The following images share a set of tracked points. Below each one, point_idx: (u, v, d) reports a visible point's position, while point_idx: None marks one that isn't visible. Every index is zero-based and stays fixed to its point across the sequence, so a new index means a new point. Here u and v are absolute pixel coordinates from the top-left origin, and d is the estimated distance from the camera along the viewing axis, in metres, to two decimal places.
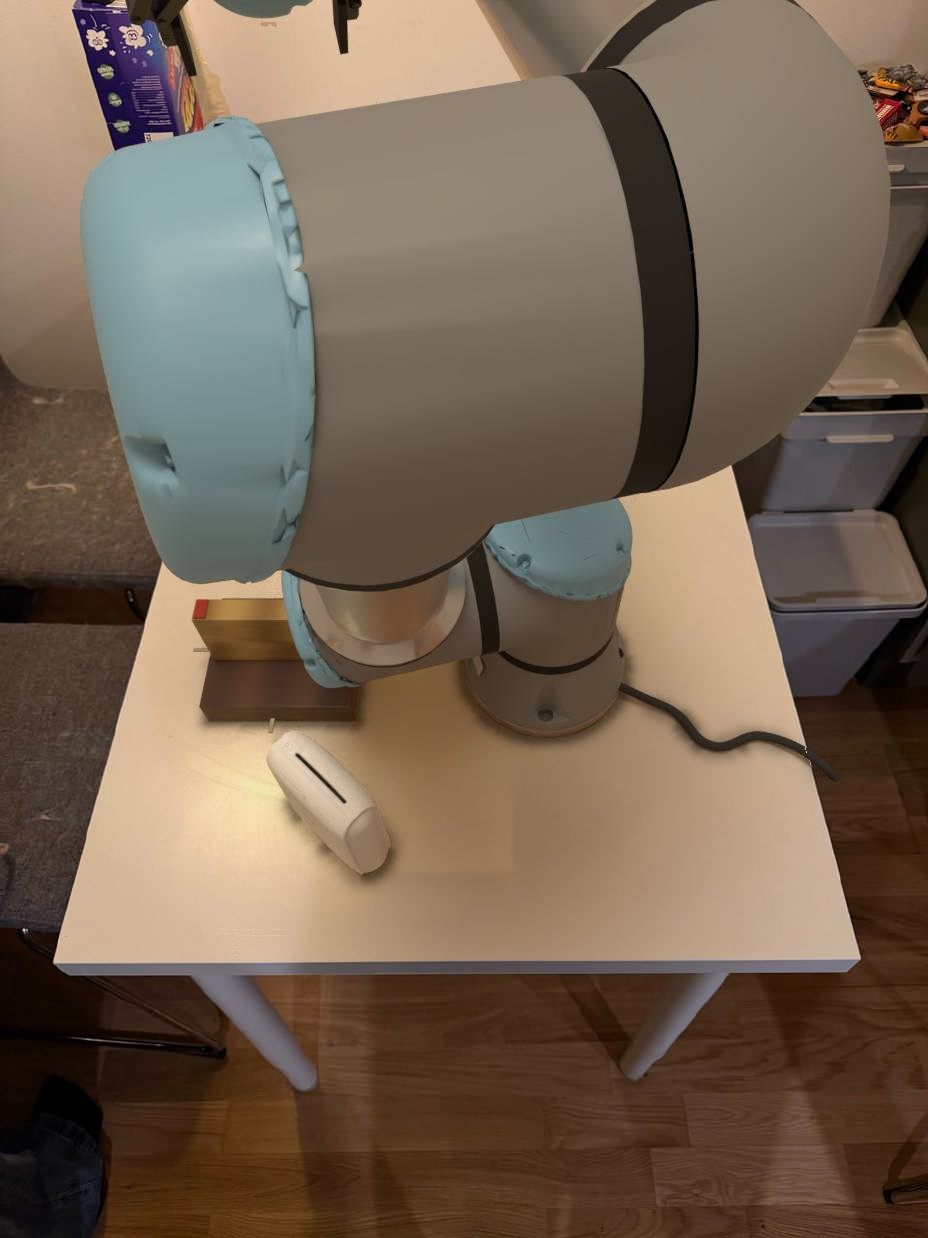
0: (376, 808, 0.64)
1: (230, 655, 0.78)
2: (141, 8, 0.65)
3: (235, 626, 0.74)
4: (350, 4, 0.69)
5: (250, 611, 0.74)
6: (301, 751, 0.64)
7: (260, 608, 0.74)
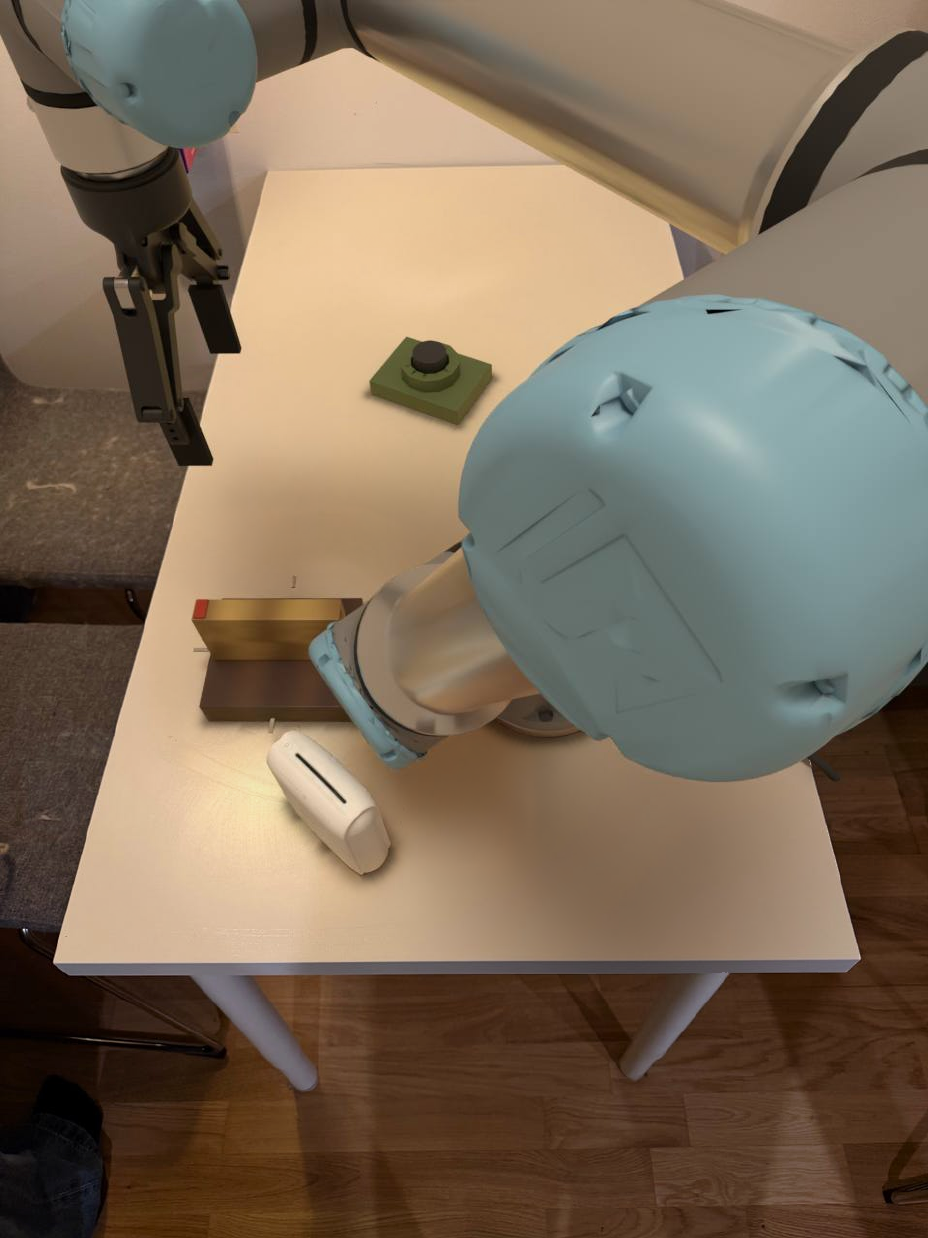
0: (376, 808, 0.64)
1: (230, 655, 0.78)
2: (168, 394, 0.59)
3: (235, 626, 0.74)
4: (225, 278, 0.69)
5: (250, 611, 0.74)
6: (301, 751, 0.64)
7: (260, 608, 0.74)
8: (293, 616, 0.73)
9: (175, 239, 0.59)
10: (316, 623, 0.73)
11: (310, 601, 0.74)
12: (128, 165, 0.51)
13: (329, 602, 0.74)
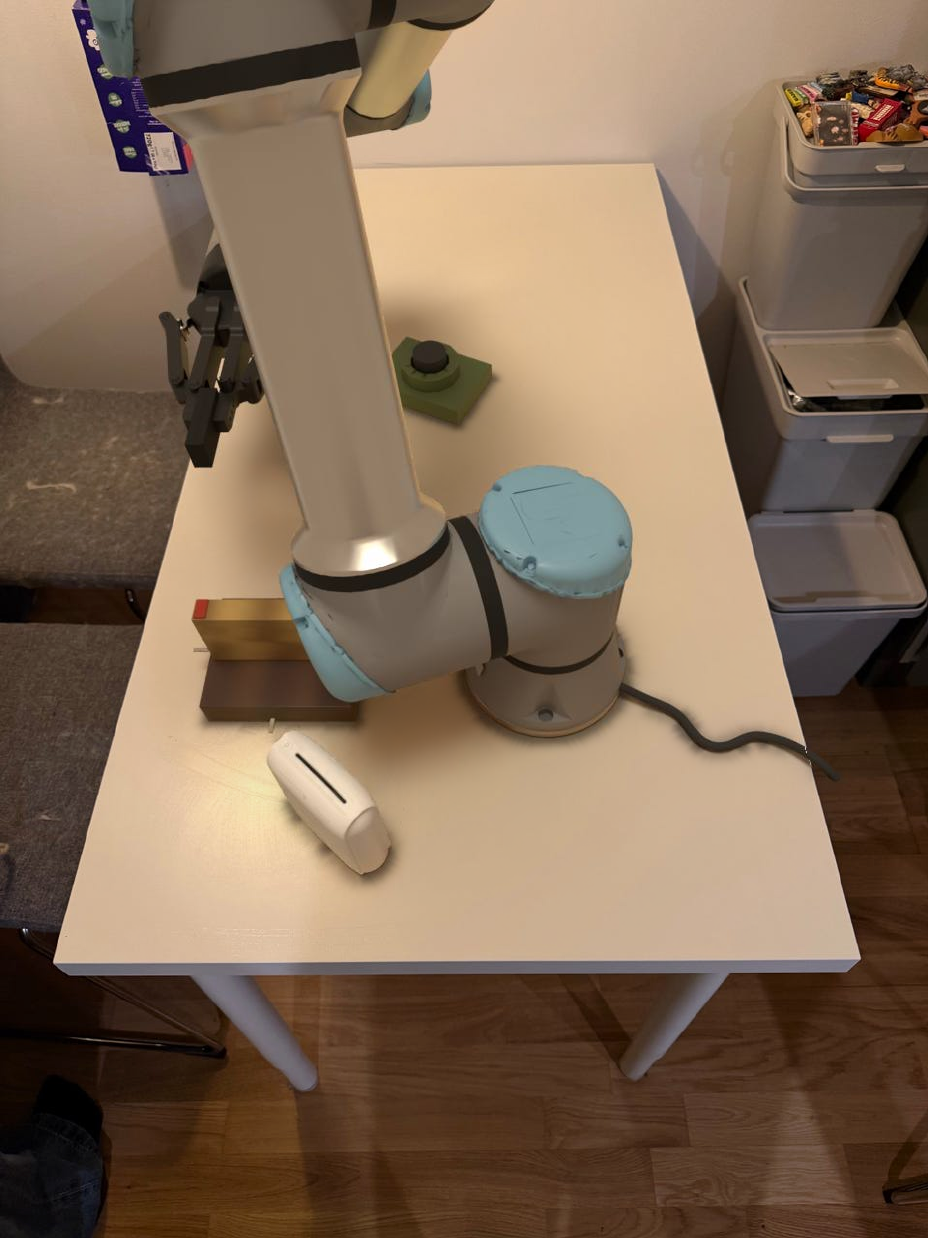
0: (376, 808, 0.64)
1: (230, 655, 0.78)
2: (174, 367, 0.72)
3: (235, 626, 0.74)
4: None
5: (250, 611, 0.74)
6: (301, 751, 0.64)
7: (260, 608, 0.74)
8: None
9: None
10: None
11: None
12: (206, 252, 0.80)
13: None
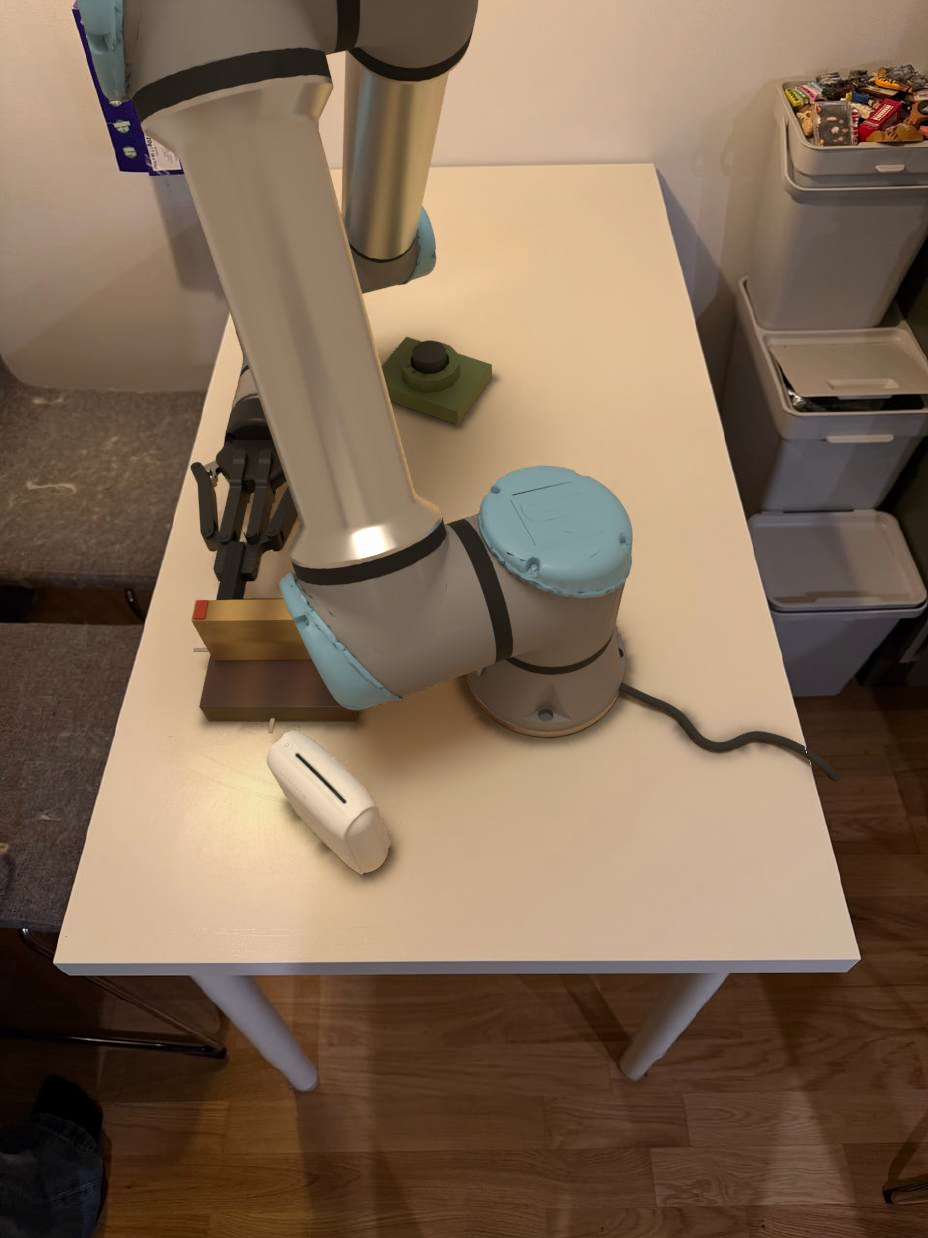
0: (376, 808, 0.64)
1: (230, 655, 0.78)
2: (205, 519, 0.80)
3: (235, 627, 0.74)
4: None
5: (250, 612, 0.73)
6: (301, 751, 0.64)
7: (260, 609, 0.74)
8: None
9: None
10: None
11: None
12: None
13: None
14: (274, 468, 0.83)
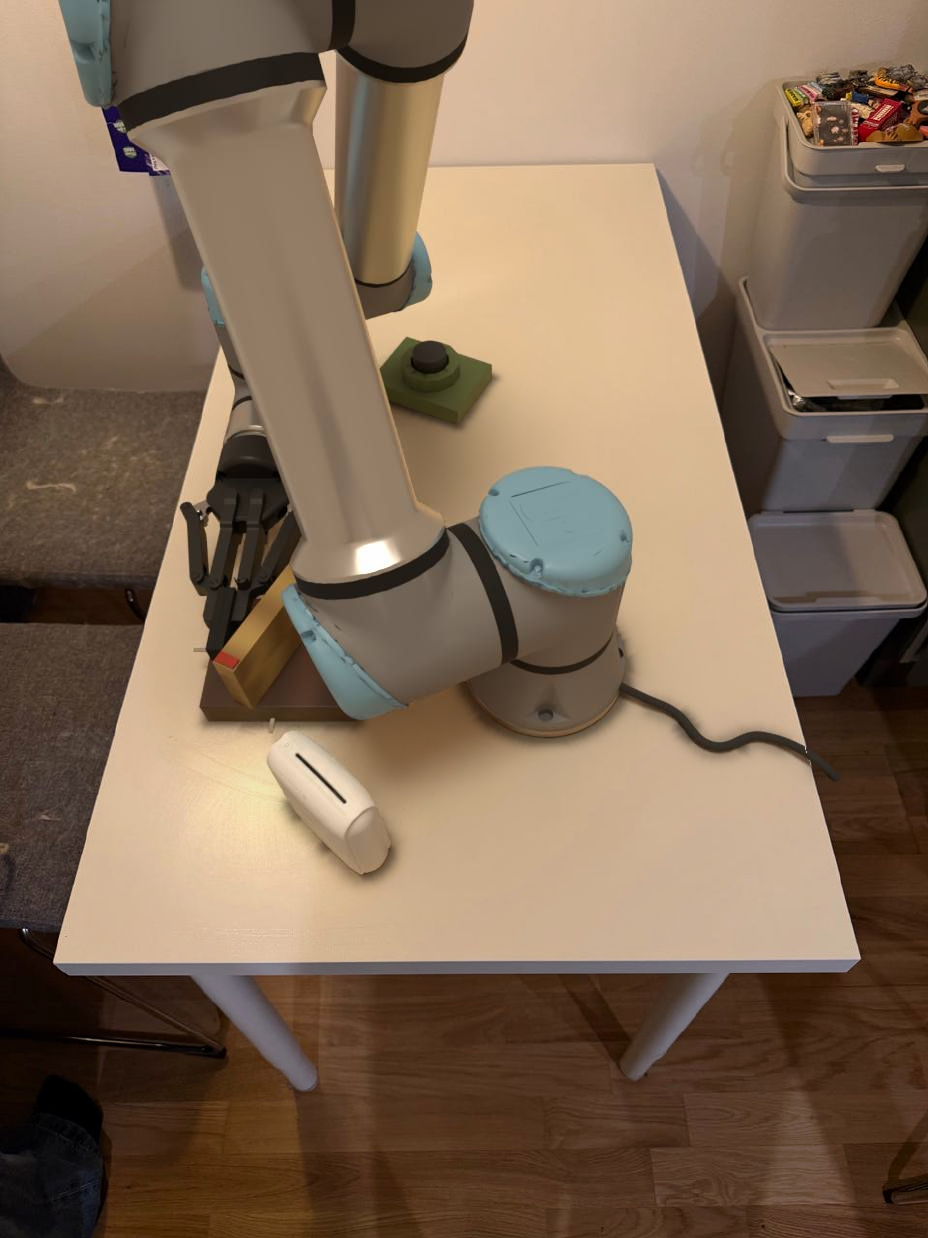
0: (376, 808, 0.64)
1: (262, 688, 0.76)
2: (195, 563, 0.77)
3: (260, 646, 0.73)
4: None
5: (259, 622, 0.73)
6: (301, 751, 0.64)
7: (262, 613, 0.73)
8: None
9: None
10: None
11: (283, 574, 0.76)
12: (224, 438, 0.85)
13: None
14: (266, 508, 0.81)
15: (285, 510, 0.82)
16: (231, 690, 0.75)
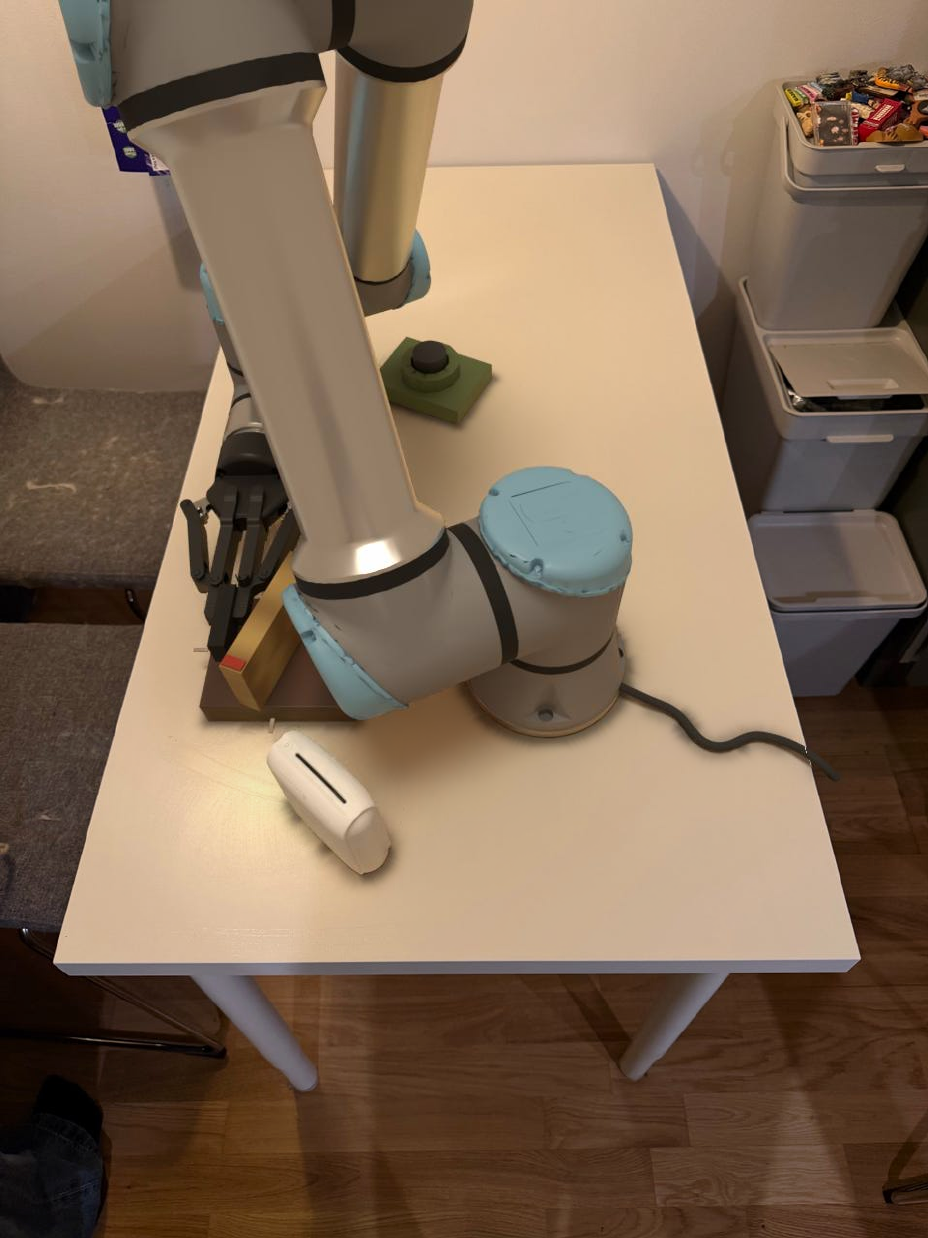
0: (376, 808, 0.64)
1: (268, 689, 0.76)
2: (196, 561, 0.77)
3: (264, 646, 0.73)
4: None
5: (261, 622, 0.73)
6: (301, 751, 0.64)
7: (263, 613, 0.73)
8: None
9: None
10: None
11: (278, 573, 0.76)
12: (223, 436, 0.85)
13: (287, 560, 0.76)
14: (266, 505, 0.81)
15: (285, 507, 0.82)
16: (237, 693, 0.74)
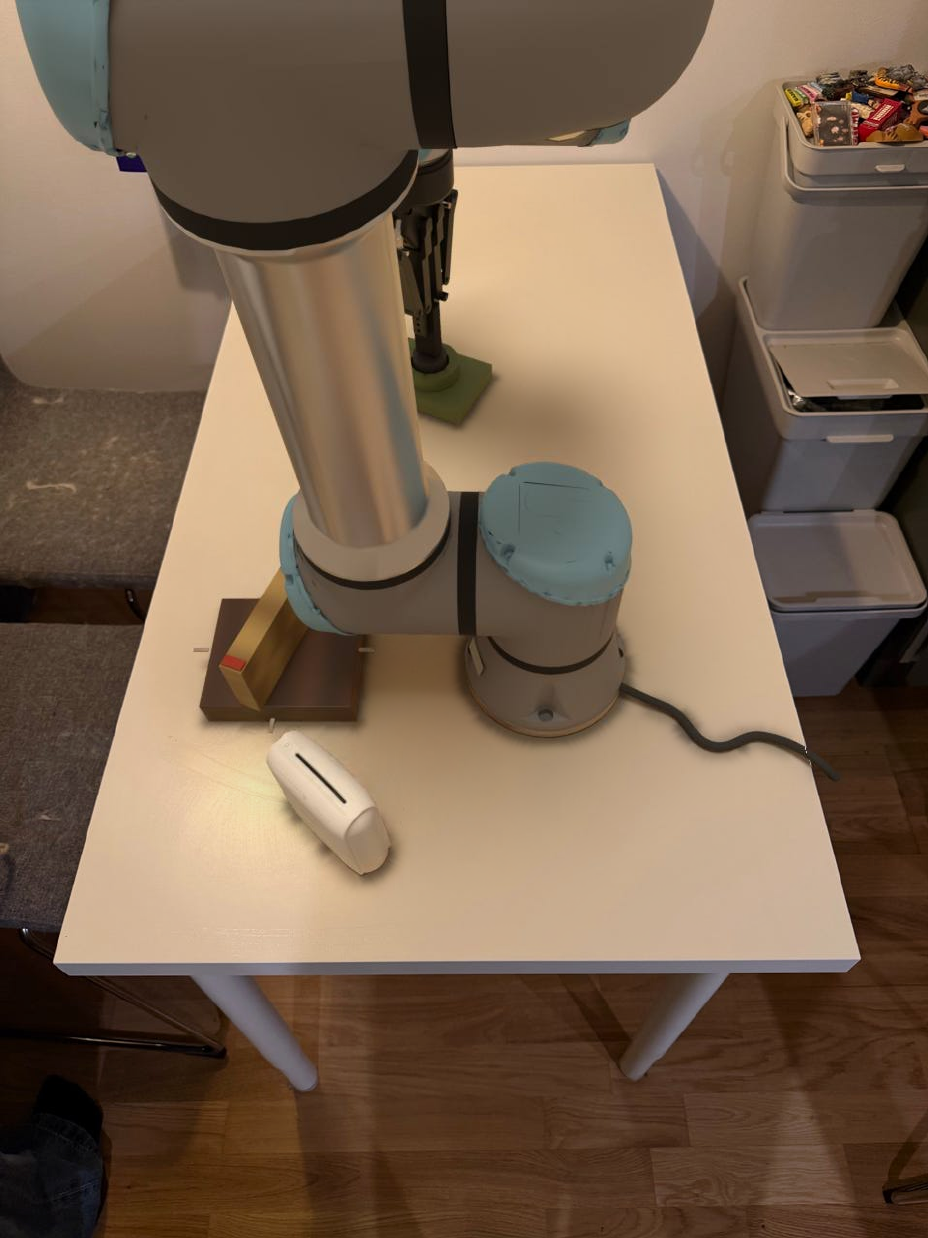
0: (376, 808, 0.64)
1: (268, 689, 0.76)
2: (418, 303, 0.89)
3: (264, 646, 0.73)
4: (442, 298, 0.92)
5: (261, 622, 0.73)
6: (301, 751, 0.64)
7: (263, 613, 0.73)
8: None
9: (434, 214, 0.84)
10: None
11: (278, 573, 0.76)
12: None
13: None
14: None
15: None
16: (237, 693, 0.74)
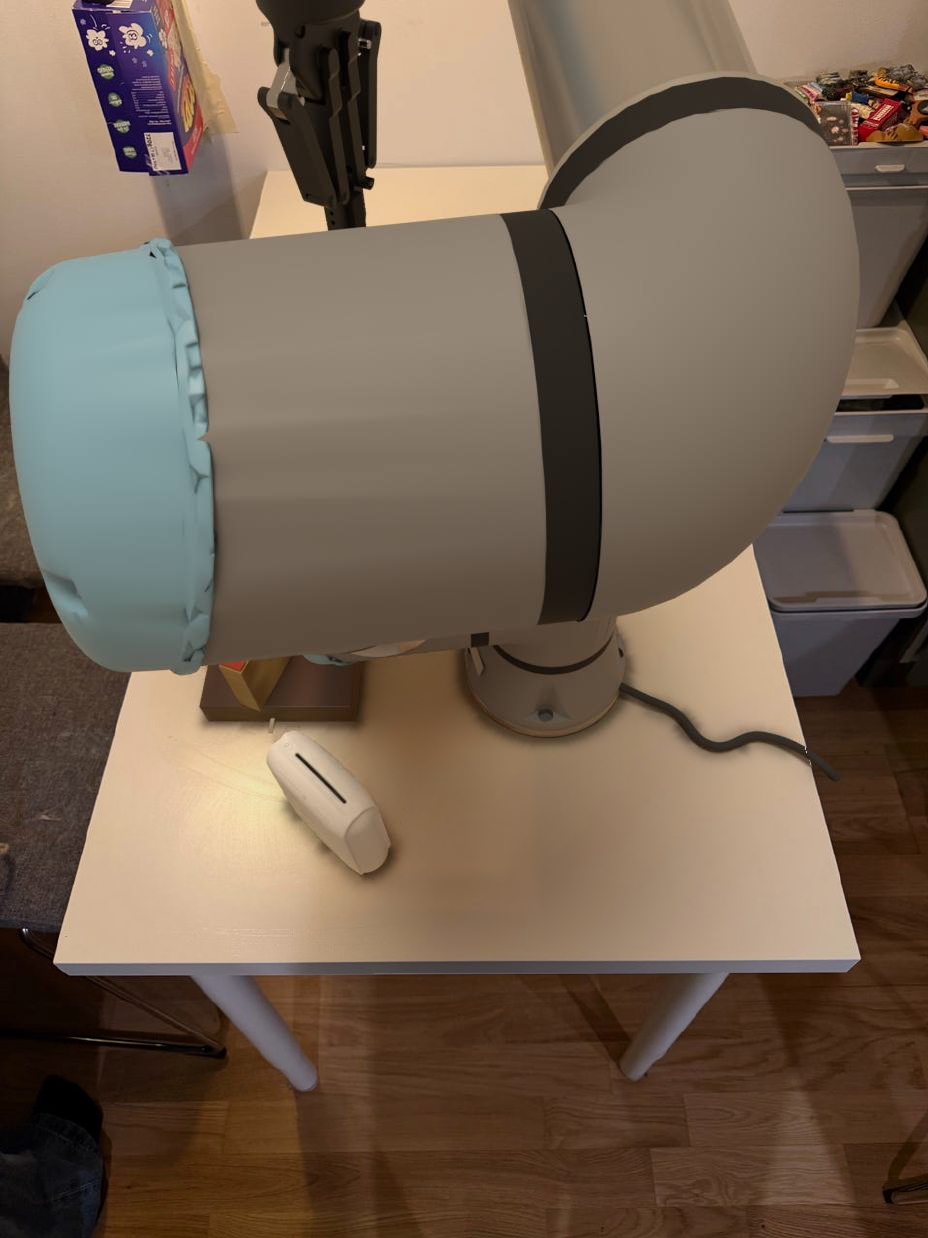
0: (376, 808, 0.64)
1: (268, 689, 0.76)
2: (327, 185, 0.64)
3: None
4: (364, 184, 0.67)
5: None
6: (301, 751, 0.64)
7: None
8: None
9: (343, 48, 0.59)
10: None
11: None
12: None
13: None
14: None
15: None
16: (237, 693, 0.74)
